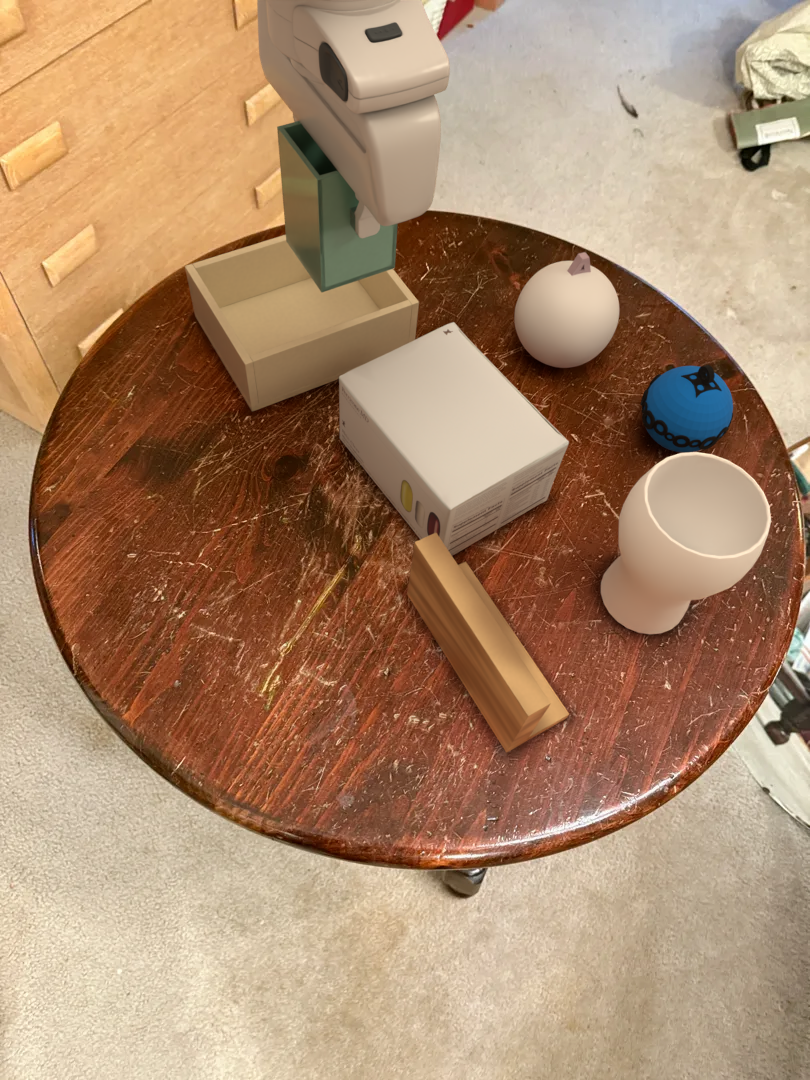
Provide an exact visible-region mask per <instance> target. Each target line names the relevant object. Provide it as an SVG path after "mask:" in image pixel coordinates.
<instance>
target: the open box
mask: <svg viewBox="0 0 810 1080" xmlns="http://www.w3.org/2000/svg"><path fill="white" fill-rule="evenodd" d="M184 270H185V274H186V279H187V284H188V289H189V294H190V298H191V303H192V309H193V313H194V317H195V319H196V320H197V322H198V324H199V325H200V327H201V329H202V331H203V332H204V334H205V335H206V337H207V339H208V341H209V342H210V344H211V346H212V348H213V349H214V351H215V352H216V354H217V356H218V357H219V359H220V360H221V362H222V365H224V368H225V369H226V371H227V373H228V374H229V376H230V377H231V379H232V380H233V383H234V384H235V385H236V388H237V389H238V391H239V392H240V394H241V396H242V397H243V399H244V401H245V402H246V404H247V406H248V408H249V409H250V411H251V412H256V411H258V410H261V409H264V408H265V407H268V406H272V405H274V404H276V403H279V402H282V401H284V400H287V399H290V398H292V397H296V396H297V395H298V396H299V395H300V394H303V393H306V392H308V391H311V390H314V389H316V388H319V387H322V386H324V385H328V384H329V383H332V382H335V381H337V380H339V376H341V375H343V374H345V373H347V372H349V371H351V370H353V369H355V368H357V367H359V366H361V365H363V364H366V363H368V362H370V361H372V360H374V359H376V358H378V357H380V356H382V355H385V354H387V353H389V352H391V351H393V350H395V349H397V348H399V347H401V346H403V345H405V344H407V343H409V342H412V341H414V340H416V334H417V325H418V316H419V315H418V314H419V308H420V307H419V306H420V301H419V299H417V298H416V297H415V295H414V294H413V293H412V291H411V290H410V289H409V287H408V286H407V285H406V284H405V282H404V280H402V279H401V277H400V276H399V274H398V273H397V272H396V271H395V269H391V270H388V271H385V272H382V273H379V274H376V275H373V276H370V277H367V278H364V279H361V280H358V281H355V282H352V283H349V284H346V285H343V286H340V287H337V288H334V289H331V290H328V291H325V292H321V291H320V290H319V288H318V287H317V285H316V284H315V282H314V281H313V279H312V278H311V276H310V275H309V274H308V272H307V271H306V269H305V268H304V266H303V265H302V263H301V262H300V261H299V259H298V258H297V256H296V255H295V253H294V252H293V250H292V249H291V247H290V246H289V245H288V243H287V242H286V234H283V235H279V236H277V237H274V238H273V237H272V238H270V239H266V240H263V241H261V242H258V243H254V244H252V245H248V246H244V247H241V248H237V249H235V250H232V251H228V252H225V253H222V254H218V255H216V256H212V257H209V258H206V259H202V260H199V261H195V262H193V263H190V264H186V265H184Z"/></svg>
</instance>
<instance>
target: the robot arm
mask: <svg viewBox="0 0 810 1080" xmlns="http://www.w3.org/2000/svg"><path fill="white" fill-rule="evenodd" d="M256 6H257V8H256V10H257V11H256V12H257V13H256V14H257V36H258V37H257V40H258V55H259V60H260V66H261V69H262V71H263V75H264V77H265V79H266V81H267V82H268V84H269V85H270V86H271V87H272V88H273V90H274V91H275V92H276V94H277V95H278V96H279V97H280V99H281V100H282V101H283V102H284V104H285V105H286V106H287V108H288V109H289V110H290V111H291V113H292V119H293V122H297V121H299V122H300V123H301V124H302V125H303V127H304V128H305V129H306V131H307V132H308V133H309V134H310V136H311V137H312V138H313V140H314V141H315V142H316V143H317V145H318V146H319V147H320V149H321V150H322V151H323V152H324V154H325V155H326V156H327V157H328V159H329V160H330V161H331V163H332V164H333V165H334V166H335V168H336V169H337V170H338V172H339V173H340V174H341V175H342V177H343V178H344V179H345V181H346V182H347V183H348V184H349V186H350V187H351V188H352V190H353V191H354V192H355V196H356V198H357V200H359V204H358V206H356V207H352V208H350V225H351V226H352V228H353V229H354V231H355V232H356V234H357V235H358V236H359V237H360V238H366V237H369V236H372V235H375V234H377V233H378V231H379V230H380V225H382V226H390V225H394V224H397V225H398V224H401V223H404V222H407V221H410V220H413V219H416V218H418V217H421V216H422V215H424V214H425V213H426V212H428V210H429V209H430V208H431V206H432V204H433V202H434V197H435V192H436V185H437V178H438V170H439V161H440V153H441V152H440V151H441V138H442V124H441V123H442V120H441V113H440V107H439V104H438V100H437V98H436V96H435V95H438V94H439V93H442V92H444V91H446V90H447V89H448V86H449V81H450V75H451V74H450V73H451V71H450V70H451V65H450V59H449V56H448V53H447V52H446V50H445V47H444V46H443V44H442V42H441V40H440V38H439V37H438V35H437V33H436V31H435V29H434V27H433V24H432V22H431V21H430V19H429V16H428V14H427V12H426V9H425V6H424V4H423V0H257V1H256Z"/></svg>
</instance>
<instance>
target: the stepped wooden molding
mask: <svg viewBox="0 0 810 1080" xmlns="http://www.w3.org/2000/svg"><path fill="white" fill-rule="evenodd" d="M410 564H411V565H410V572H409V577H408V585H407V591H406V595H407V597H408V599H409V600H410V601H411V603H412V605H413V606H414V609H416V612H418V614H419V616H420V617H421V619H422V621H423V623H424V624H425V625H426V627H427V628H428V630H429V632H430V633H431V635H432V637H433V638H434V640H435V642H436V643H437V645H438V646H439V648H440V649H441V651H442V653H443V654H444V656H445V657H446V659H447V661H448V662H449V664H450V665H451V667H452V669H453V670H454V672H455V673H456V675H457V676H458V679H459V680H460V681H461V683H462V684H463V686H464V687H465V689H466V691H467V692H468V694H469V696H470V698H471V699H472V701H473V702H474V703H475V705H476V707H477V708H478V710H479V712H480V713H481V715H482V716H483V719H485V721H486V722H487V724H488V726H489V728H490V729H491V730H492V731H491V732H492V733H493V734H494V735H495V737H496V739H497V740H498V742H499V743H500V745H501V747H502V748H503V750H504V751H505V753H509V752H510V751H512V750H515V749H516V748H518V747H519V746H521V745H523V744H525V743H526V742H527V741H529V740H531V739H533V738H535V737H537V736H538V735H540V734H542V733H543V732H545V731H547V730H549V729H550V728H552V727H554V726H556V725H557V724H559V723H561V722H563V721H564V720H566V719H567V718H568V717H569V716H570V713H569V711H568V710H567V708H566V707H565V706H564V703H563V702H562V701H561V700H560V697H558V695H557V694H556V692H555V691H554V689H553V687H552V686H551V684H550V683H549V682H548V680H547V679H546V677H545V676H544V675H543V673H542V671H541V670H540V668H539V667H538V665H537V664H536V662H535V661H534V659H533V658H532V656H531V655H530V654H529V652H528V651H527V650H526V648H525V646H524V645H523V643H522V642H521V641H520V639H519V638H518V636H517V635H516V633H515V631H514V630H513V629H512V627H511V626H510V624H509V623H508V621H507V620H506V618H505V616H504V615H503V614H502V613H501V611H500V609H499V608H498V607H497V605H496V604H495V602H494V600H493V599H492V598H491V596H490V595H489V594H488V592H487V590H486V589H485V587H484V585H482V583H481V581H480V580H479V579H478V577H477V575H476V574H475V572H474V571H473V570H472V569H471V567H470V565H469V564H468V562H467V561H463V562H461V563H459V564H458V562H457V561H456V560H455V558H454V557H453V556H452V555H451V554H450V552H449V551H448V549H447V548H446V546H445V545H444V543H443V542H442V540H441V539H440V537H439V536H438V534H437V533H434V534H431V535H429V536H427V537H425V538H423V539H421V540H420V539H419V540H416V541H414V544H413V550H412V558H411V563H410Z"/></svg>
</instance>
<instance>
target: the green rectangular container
mask: <svg viewBox="0 0 810 1080" xmlns="http://www.w3.org/2000/svg"><path fill="white" fill-rule="evenodd" d="M276 131H277V143H278V157H279V167H280V180H281V192H282V193H281V194H282V204H283V218H284V229H285V235H286V242H287V243H288V245H289V246H290V247H291V249H292V250H293V252H294V253H295V255H296V256H297V258H298V259H299V261H300V262H301V263H302V265H303V266H304V268H305V269H306V271H307V272H308V274H309V275H310V276H311V278H312V279H313V281H314V282H315V284H316V285H317V287H318V288H319V290H320V291H321V292H325V291H328V290H331V289H334V288H337V287H340V286H343V285H346V284H349V283H352V282H355V281H358V280H361V279H364V278H367V277H370V276H373V275H376V274H379V273H382V272H385V271H388V270H391V269H393V270H395V268H396V257H397V256H396V255H397V239H398V224H394V225H390V226H382V225H380V230H379V231H378V233H377V234H375V235H372V236H369V237H366V238H360V237H359V236H358V235H357V234H356V232H355V231H354V229H353V228H352V226H351V225H350V208H352V207H356V206H358V204H359V200H357V198H356V196H355V192H354V191H353V190H352V188H351V187H350V186H349V184H348V183H347V182H346V181H345V179H344V178H343V177H342V175H341V174H340V173H339V172H338V170H337V169H336V168H335V166H334V165H333V164H332V163H331V161H330V160H329V159H328V157H327V156H326V155H325V154H324V152H323V151H322V150H321V149H320V147H319V146H318V145H317V143H316V142H315V141H314V140H313V138H312V137H311V136H310V134H309V133H308V132H307V131H306V129H305V128H304V127H303V125H302V124H301V123H300V122H299V121H297V122H294V121H293V122H289V123H285V124H282V125H278V126H276Z"/></svg>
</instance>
